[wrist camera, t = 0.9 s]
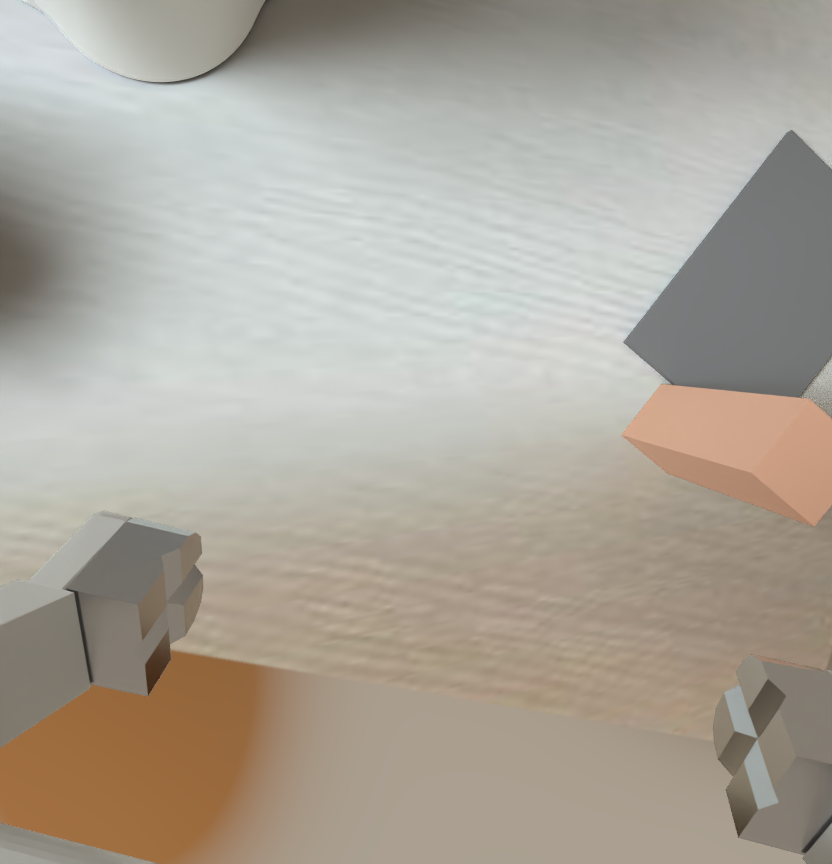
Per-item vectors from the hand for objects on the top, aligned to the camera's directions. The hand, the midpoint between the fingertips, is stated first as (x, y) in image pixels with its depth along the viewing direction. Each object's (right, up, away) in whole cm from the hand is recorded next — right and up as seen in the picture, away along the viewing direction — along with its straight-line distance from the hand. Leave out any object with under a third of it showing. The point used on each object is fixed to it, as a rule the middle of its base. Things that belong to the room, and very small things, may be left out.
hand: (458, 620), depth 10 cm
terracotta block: (+19, +3, +42) cm, 46 cm away
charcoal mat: (+27, +13, +41) cm, 51 cm away
